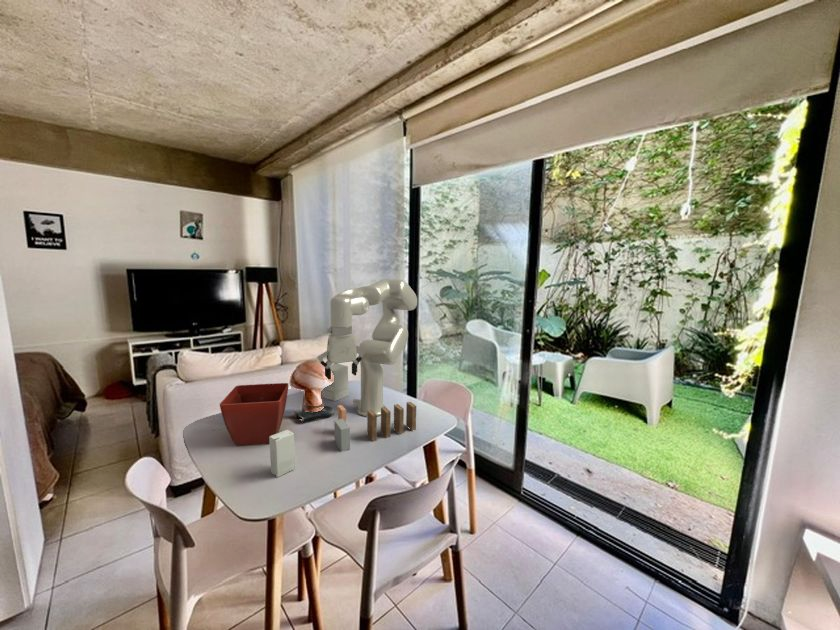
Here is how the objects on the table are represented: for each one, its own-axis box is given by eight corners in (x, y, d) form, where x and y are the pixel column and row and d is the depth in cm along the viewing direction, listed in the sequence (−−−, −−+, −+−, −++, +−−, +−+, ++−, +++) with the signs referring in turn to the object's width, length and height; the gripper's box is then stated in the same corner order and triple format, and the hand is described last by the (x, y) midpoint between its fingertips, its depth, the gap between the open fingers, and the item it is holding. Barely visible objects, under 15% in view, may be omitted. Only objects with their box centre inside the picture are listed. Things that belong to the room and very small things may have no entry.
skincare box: (288, 464, 110) (287, 428, 108) (296, 469, 107) (295, 433, 106) (269, 472, 106) (268, 435, 104) (277, 478, 103) (275, 440, 101)
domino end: (341, 436, 129) (341, 410, 127) (337, 430, 133) (337, 405, 132) (346, 435, 130) (345, 409, 128) (341, 429, 134) (341, 404, 132)
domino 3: (399, 434, 131) (399, 409, 129) (393, 429, 135) (394, 404, 134) (403, 433, 132) (403, 408, 130) (397, 428, 136) (397, 404, 134)
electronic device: (304, 429, 137) (338, 414, 146) (300, 416, 136) (335, 402, 145) (296, 423, 144) (329, 410, 153) (293, 411, 143) (326, 398, 152)
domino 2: (386, 437, 128) (386, 412, 127) (380, 432, 132) (381, 407, 131) (390, 436, 129) (390, 411, 127) (384, 431, 133) (384, 406, 132)
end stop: (341, 451, 118) (341, 429, 117) (334, 441, 125) (334, 420, 124) (350, 449, 120) (349, 427, 118) (342, 439, 126) (342, 418, 125)
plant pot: (238, 426, 134) (236, 384, 132) (290, 422, 138) (288, 382, 136) (221, 452, 116) (218, 404, 113) (281, 447, 120) (279, 401, 117)
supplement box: (336, 391, 173) (336, 362, 170) (348, 395, 167) (348, 366, 165) (321, 397, 165) (321, 366, 163) (334, 401, 160) (333, 370, 158)
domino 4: (412, 431, 134) (412, 406, 132) (406, 426, 138) (406, 402, 136) (415, 430, 134) (416, 406, 133) (409, 425, 139) (410, 401, 137)
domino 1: (372, 441, 125) (372, 415, 124) (367, 435, 130) (367, 410, 128) (376, 440, 126) (376, 414, 125) (371, 434, 130) (371, 409, 129)
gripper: (320, 334, 118) (320, 382, 120) (367, 330, 127) (367, 375, 129) (314, 330, 124) (315, 376, 127) (360, 327, 133) (360, 370, 135)
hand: (341, 376), depth 128 cm, fingers open, 9 cm apart
